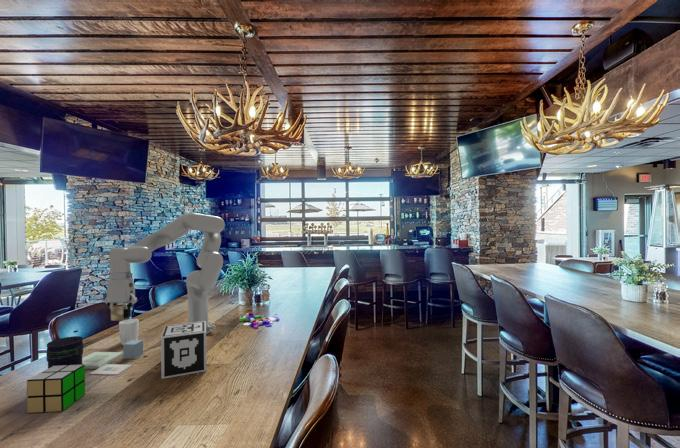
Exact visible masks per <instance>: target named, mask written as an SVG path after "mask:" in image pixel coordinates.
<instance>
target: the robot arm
mask: <svg viewBox="0 0 680 448" xmlns="http://www.w3.org/2000/svg"><path fill="white" fill-rule="evenodd" d="M225 227H226V224H225V221H224V219H223V218H222V217H220V216H215V215H210V214H203V213H198V212H187V213H184V214H182V215H180V216H178V217H177V218H175V219H174V220H172V221H170V222H169V223H167V224H166V225H165V226H163V227H161V228H160V229H158V230H156V231H154V232H153V233H150V234H149V235H147V236H145V237H143V238H142V239H140V240H138V241H137V242H136V243H134V244H133V245H131V246H130V247H113V248H110V249H109V255H108V257H109V279H108V281H107V285H106V286H107V287H106V297H105V298H104V300H103V302H104V303H105V304H106V305H107V306H108V308H109V310H111V306H114V305H117V304H124V307H125V309H124V319H125V320H127V319H129V318H128V317H130V318H131V308H132V307H133V306H134V305H135V304H136V303H137V302H138V301H139V300H138V298H137V297H136V289H135V282H134V279H133V278H132V276H133V273H132V272H131V264H144V263H147V262H149V261H150V260H151V259H152V256H153V254H152V253H153V252H154V251H155V250H157V249H160V248H162V247H165V246H168V245H171V244H173V243H175V242H176V241H177V240H179V239H180V238H182V237H183V236H184V235H186V234H188V233H189V232H190V231H197V232H198V231H199V232H202V233H203V236H204V239H203V243H202V245H201V248H200V251H199V253H198V256H197V258H196V265H197V266H198V268H200V269H201V270H193V271H191V272H189V274H188V275H187V276H186V281H185V283H186V284H185V285H186V286H185V287H186V291H187V315H188V316H187V323H191V322H199V321H206V335H207V334H209V333H211V332H212V331H214V330H216V327H217V326H216V324H211V321H209V294H208V292H210V291H211V290H212V289H214V287H215V286H216V284H217V281H218V279H219V277H220V274H221V271H222V269H223V266H224V265H223V264H224V257H223V256H222V254H221V253H220V251H219V250H220V248H221V244H222V236H221V232H223V230H224V229H225ZM127 304H128V305H127ZM126 318H127V319H126Z"/></svg>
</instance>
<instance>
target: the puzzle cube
mask: <svg viewBox="0 0 680 448" xmlns="http://www.w3.org/2000/svg"><path fill="white" fill-rule="evenodd" d="M85 379H86V369H85V365H69V366H68V365H61V366H52V367H50V368H49V369H48V368H47V369H44V370H43V371H42V372H40V373H38V374H36V375H34V376H32V377H29V378H28V379H27V380H26V395H27V397H26V404H27V405H26V407H27V408H26V412H27V413H26V414H36V413H37V414H38V413H41V414H42V413H56V412H57V413H58V412H64V411H65V410H66V409H68V408H69V407H71V406H72V405H73V404H74V403H75V402H77V401H78V400H80V399H81V398H82V397H83V396H85V395H86V380H85Z"/></svg>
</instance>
